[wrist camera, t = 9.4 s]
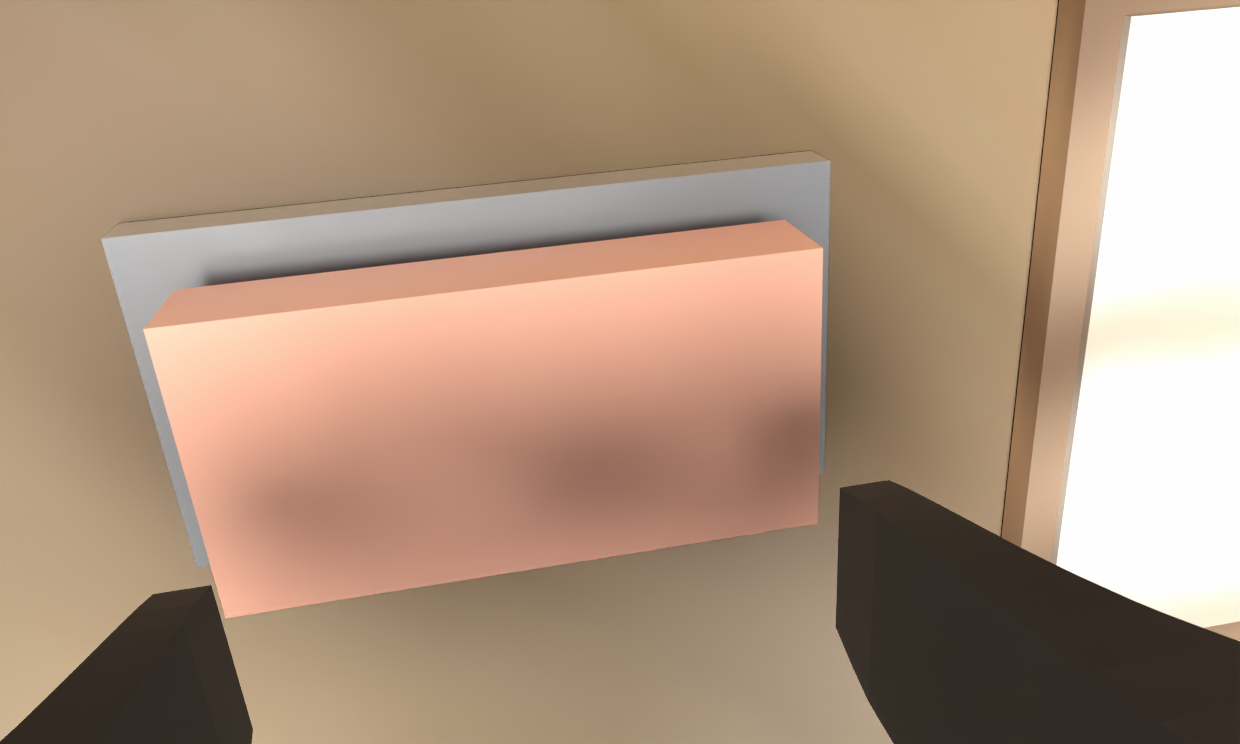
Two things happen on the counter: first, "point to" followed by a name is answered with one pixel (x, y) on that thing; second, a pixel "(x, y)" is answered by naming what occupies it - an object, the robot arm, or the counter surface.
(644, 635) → the counter surface
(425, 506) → the button
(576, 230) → the button base
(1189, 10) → the board
